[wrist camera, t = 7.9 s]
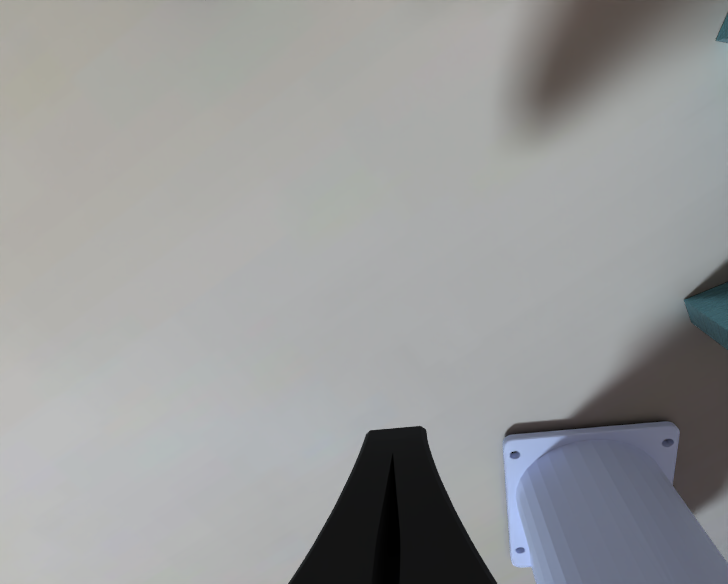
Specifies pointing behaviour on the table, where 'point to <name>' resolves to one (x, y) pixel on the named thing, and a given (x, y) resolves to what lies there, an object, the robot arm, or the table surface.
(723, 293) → the block
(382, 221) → the table surface
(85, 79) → the table surface
